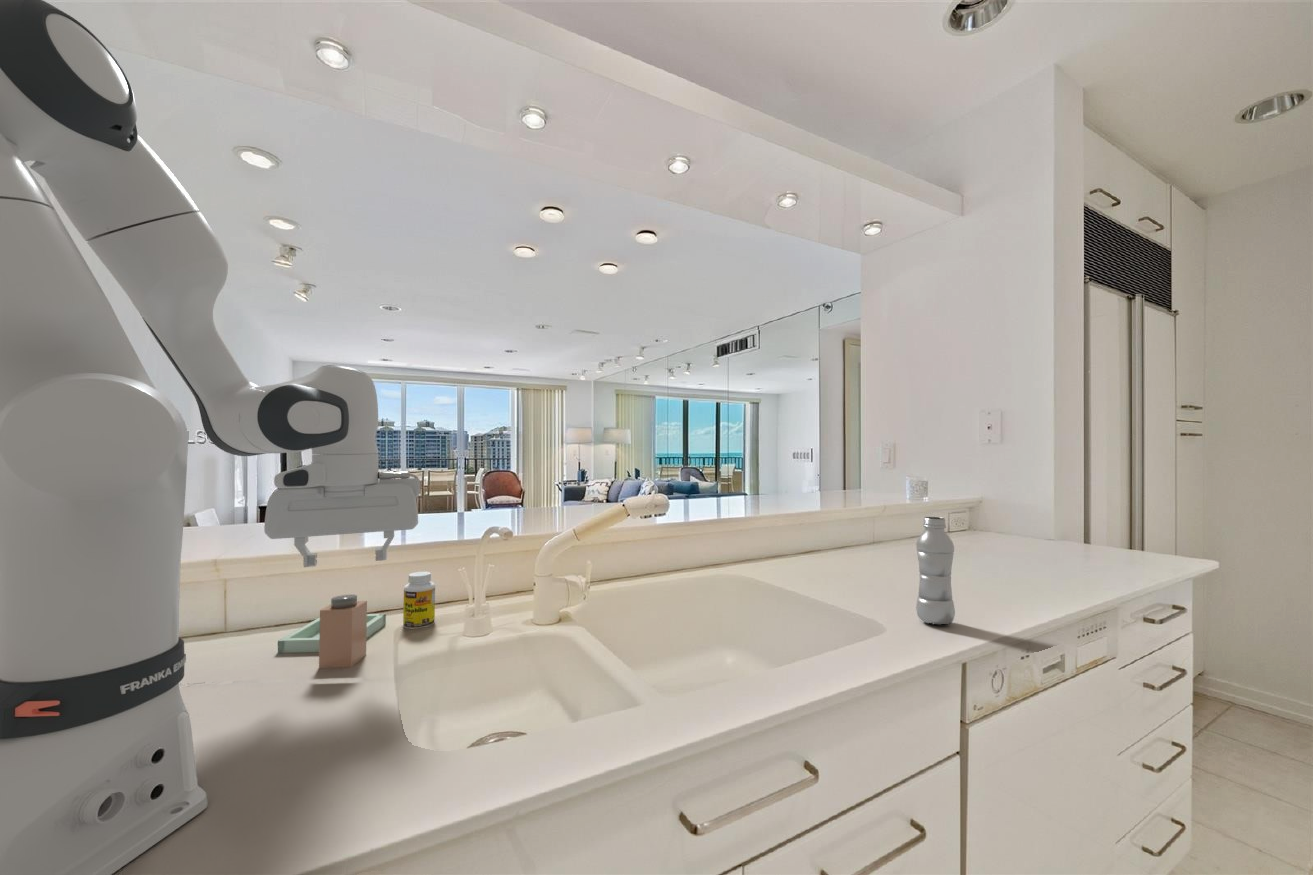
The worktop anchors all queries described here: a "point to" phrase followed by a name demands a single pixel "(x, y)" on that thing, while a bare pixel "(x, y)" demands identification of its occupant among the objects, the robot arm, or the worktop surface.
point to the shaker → (342, 632)
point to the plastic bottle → (935, 573)
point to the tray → (310, 634)
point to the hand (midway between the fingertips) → (346, 563)
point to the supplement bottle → (419, 601)
